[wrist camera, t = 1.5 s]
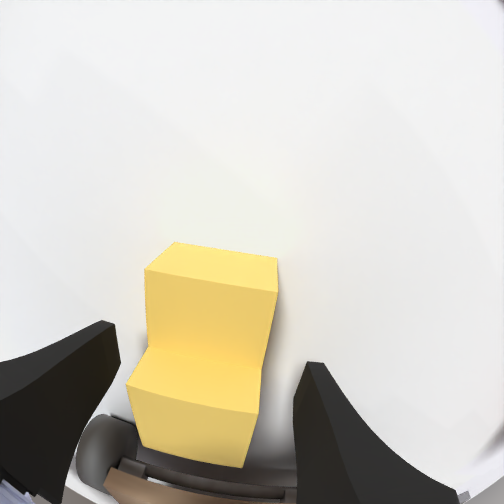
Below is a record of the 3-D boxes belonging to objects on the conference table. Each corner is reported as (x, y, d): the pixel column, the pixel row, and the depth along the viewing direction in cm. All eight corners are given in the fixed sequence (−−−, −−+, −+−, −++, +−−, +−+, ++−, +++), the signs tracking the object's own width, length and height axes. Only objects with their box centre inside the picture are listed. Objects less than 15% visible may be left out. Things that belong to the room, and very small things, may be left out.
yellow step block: (174, 370, 13) (143, 446, 8) (175, 241, 11) (111, 299, 6) (251, 385, 13) (242, 468, 8) (276, 256, 11) (279, 333, 6)
